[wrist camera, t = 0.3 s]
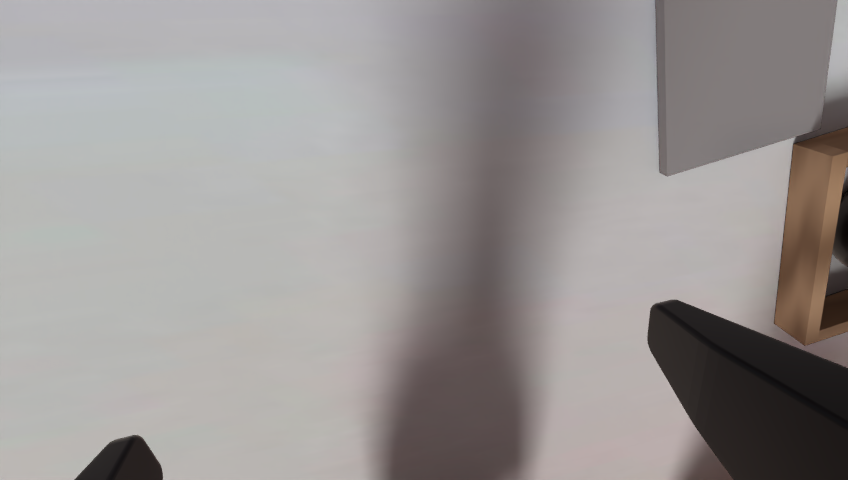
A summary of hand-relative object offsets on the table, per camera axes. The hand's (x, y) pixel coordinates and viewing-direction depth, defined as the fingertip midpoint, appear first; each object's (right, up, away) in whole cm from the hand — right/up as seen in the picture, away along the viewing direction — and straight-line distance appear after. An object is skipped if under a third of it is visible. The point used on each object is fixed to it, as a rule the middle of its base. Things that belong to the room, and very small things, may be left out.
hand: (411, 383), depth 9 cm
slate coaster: (+15, +10, +14) cm, 23 cm away
